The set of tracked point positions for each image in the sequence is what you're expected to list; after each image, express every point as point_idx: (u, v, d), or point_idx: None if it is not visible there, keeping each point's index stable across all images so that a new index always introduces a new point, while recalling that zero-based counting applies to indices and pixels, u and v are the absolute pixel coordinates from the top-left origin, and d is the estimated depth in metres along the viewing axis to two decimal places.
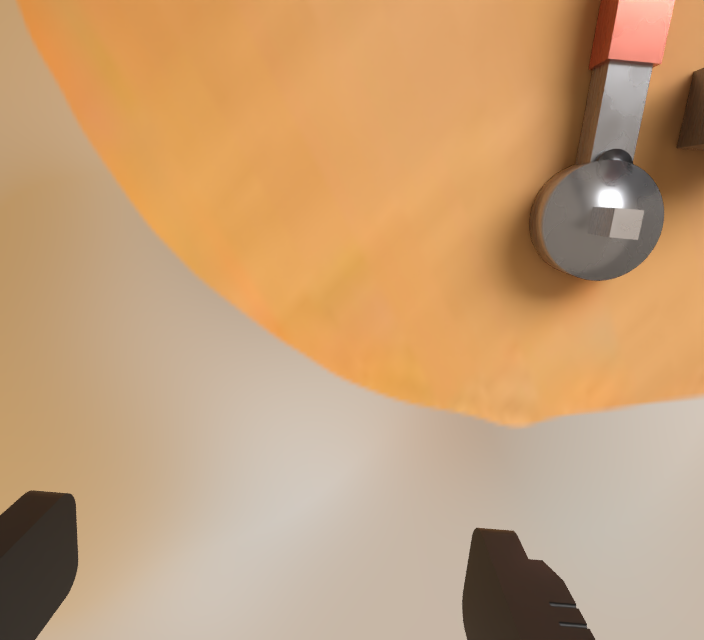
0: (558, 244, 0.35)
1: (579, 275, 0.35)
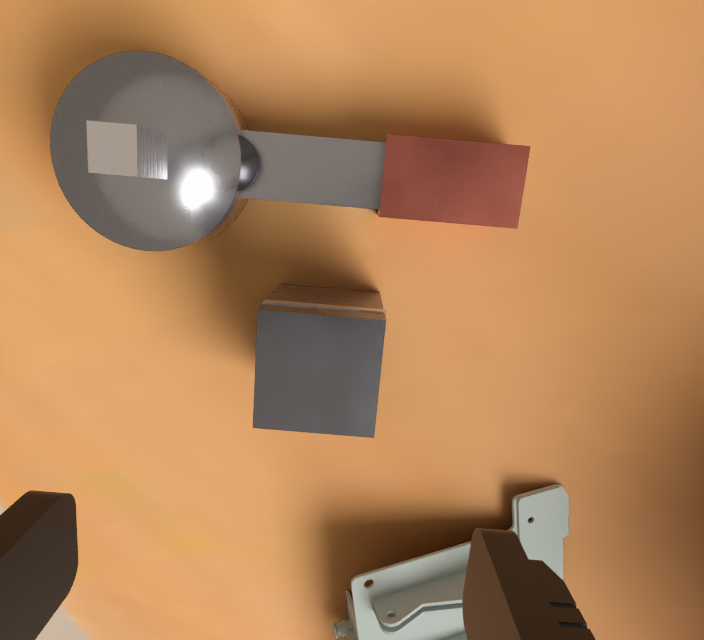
0: (100, 81, 0.21)
1: (55, 124, 0.21)
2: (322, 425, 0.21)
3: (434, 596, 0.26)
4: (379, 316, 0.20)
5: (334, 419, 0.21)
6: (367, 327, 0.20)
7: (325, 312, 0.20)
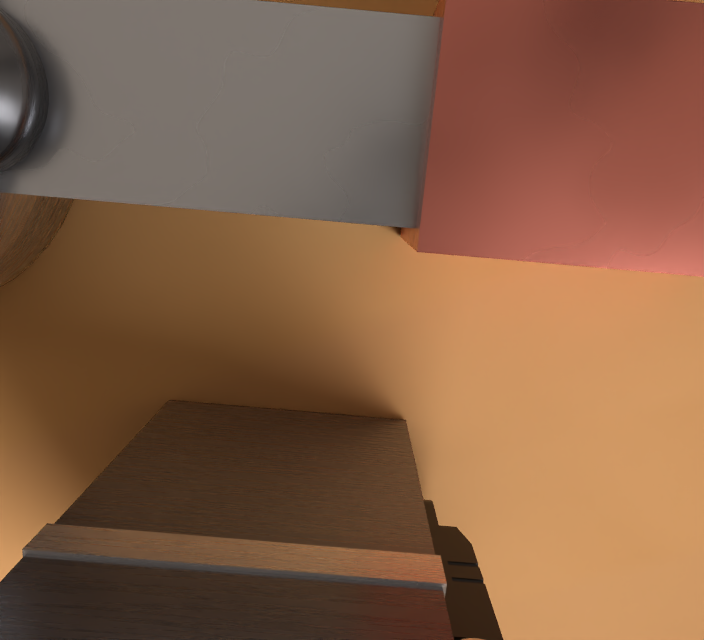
0: None
1: None
2: None
3: None
4: (430, 629, 0.06)
5: None
6: None
7: (229, 621, 0.05)
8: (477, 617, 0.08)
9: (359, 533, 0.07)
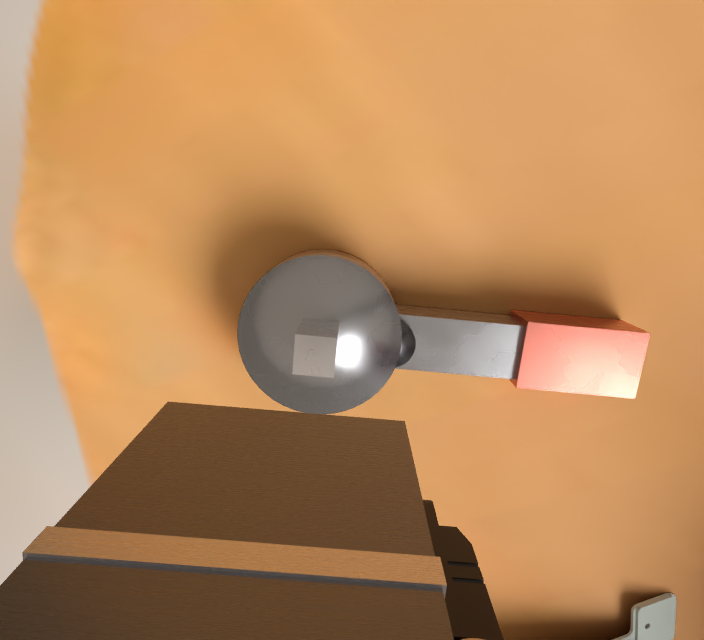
0: (286, 278, 0.24)
1: (243, 312, 0.25)
2: None
3: None
4: (431, 631, 0.06)
5: None
6: None
7: (230, 623, 0.05)
8: (477, 617, 0.08)
9: (359, 535, 0.07)
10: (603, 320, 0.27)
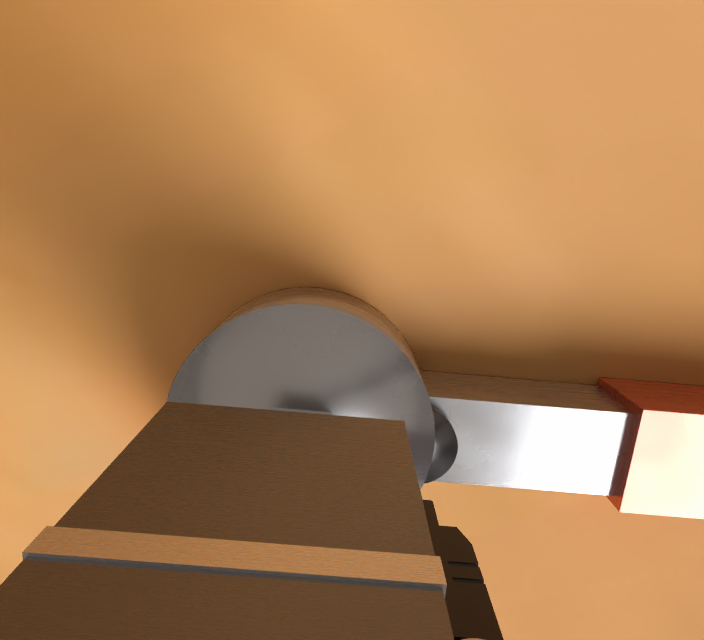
0: (242, 344, 0.14)
1: (172, 398, 0.15)
2: None
3: None
4: (431, 630, 0.06)
5: None
6: None
7: (230, 623, 0.05)
8: (477, 617, 0.08)
9: (359, 534, 0.07)
10: None
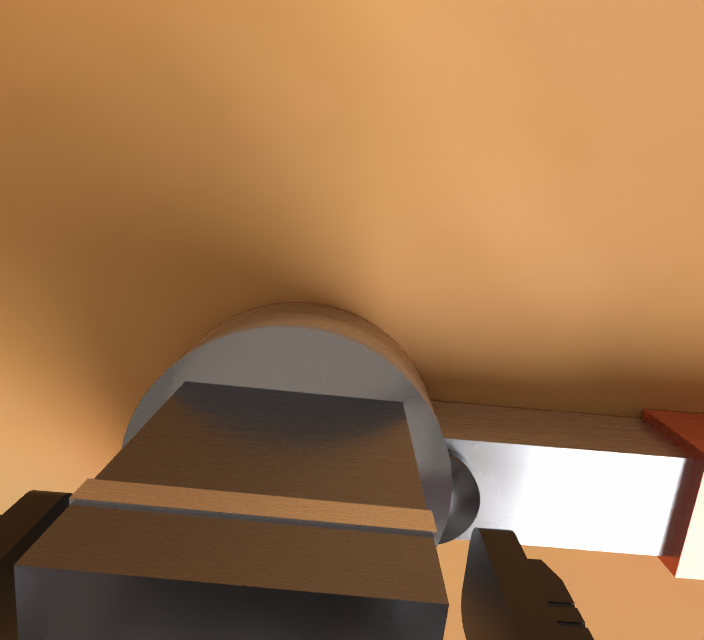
0: (214, 376, 0.12)
1: None
2: None
3: None
4: (422, 566, 0.06)
5: None
6: (386, 623, 0.06)
7: (251, 556, 0.06)
8: None
9: (361, 492, 0.08)
10: None
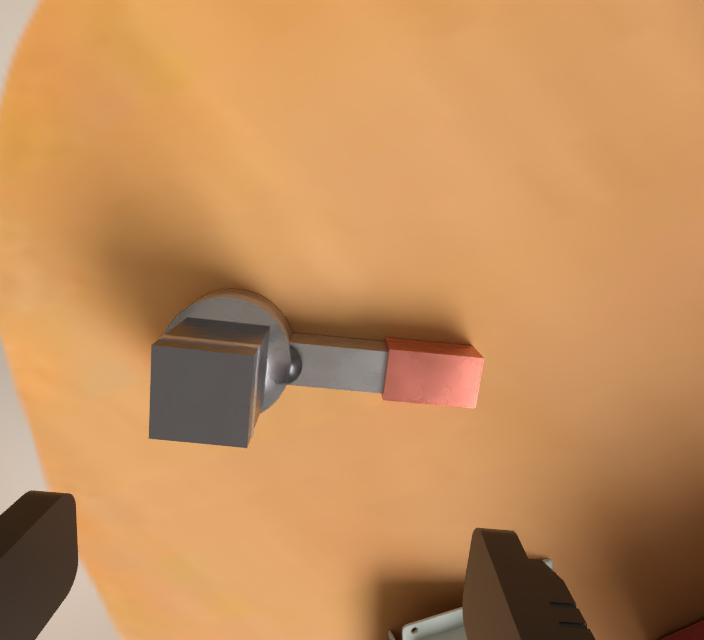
0: (198, 315, 0.31)
1: None
2: (205, 437, 0.26)
3: None
4: (251, 351, 0.26)
5: (215, 432, 0.26)
6: (239, 361, 0.25)
7: (208, 347, 0.26)
8: None
9: (241, 341, 0.27)
10: (456, 346, 0.34)
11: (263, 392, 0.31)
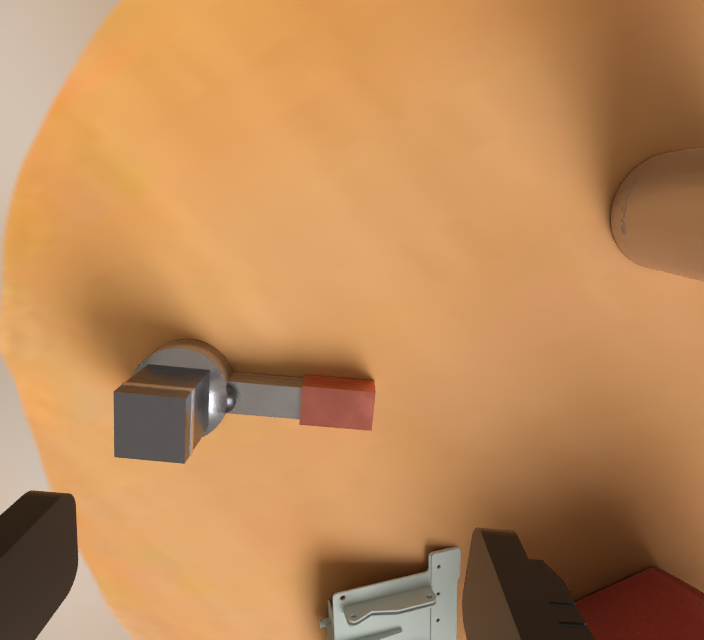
0: (156, 362, 0.41)
1: None
2: (154, 456, 0.36)
3: (378, 607, 0.46)
4: (185, 394, 0.36)
5: (161, 452, 0.36)
6: (176, 402, 0.35)
7: (154, 392, 0.36)
8: None
9: (181, 385, 0.37)
10: (360, 381, 0.44)
11: (206, 419, 0.42)
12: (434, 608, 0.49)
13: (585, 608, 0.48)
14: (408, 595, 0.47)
